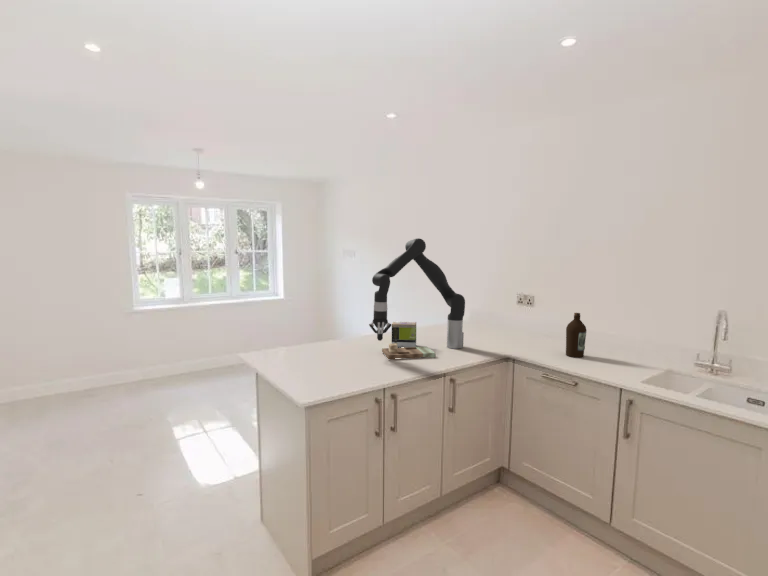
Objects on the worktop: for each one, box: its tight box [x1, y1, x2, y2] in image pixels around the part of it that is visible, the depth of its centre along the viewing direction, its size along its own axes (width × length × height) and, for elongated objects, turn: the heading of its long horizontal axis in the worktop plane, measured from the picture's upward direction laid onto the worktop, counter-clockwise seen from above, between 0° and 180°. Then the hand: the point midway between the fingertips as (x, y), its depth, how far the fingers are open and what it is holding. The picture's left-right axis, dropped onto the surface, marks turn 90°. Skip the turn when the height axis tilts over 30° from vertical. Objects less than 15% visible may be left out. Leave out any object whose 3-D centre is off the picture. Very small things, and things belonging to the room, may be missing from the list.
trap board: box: [381, 346, 436, 360], centre depth 241 cm, size 27×15×2 cm, turn 104°
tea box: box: [391, 321, 417, 348], centre depth 261 cm, size 15×10×15 cm, turn 84°
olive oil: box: [565, 312, 587, 359], centre depth 243 cm, size 11×11×25 cm
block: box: [388, 343, 398, 352], centre depth 238 cm, size 4×4×4 cm
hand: (379, 340), depth 236 cm, fingers closed
